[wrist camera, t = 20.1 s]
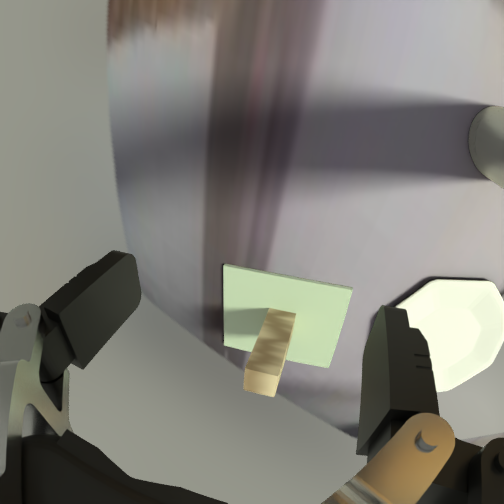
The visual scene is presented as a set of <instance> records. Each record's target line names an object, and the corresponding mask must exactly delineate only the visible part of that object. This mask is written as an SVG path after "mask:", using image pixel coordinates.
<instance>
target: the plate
mask: <svg viewBox="0 0 504 504" xmlns="http://www.w3.org/2000/svg"><path fill="white" fill-rule="evenodd" d="M395 307H396V308H402V309H406V311H407V314H408V320H409V325H410V327H411V328H418V329H419V330H420V331H421V333H422V334H423V336H424V337H425V339H426V340H427V342H428V347H429V352H430V358H431V362H432V370H433V373H434V379H435V386H436V392H444V391H448V390H451V389H452V388H454V387H456V386H458V385H459V384H461V383H463V382H465V381H466V380H468V379H470V378H471V377H473V376H474V375H476V374H478V373H479V372H481V371H483V370H484V369H486V368H487V367H489V366H490V365H491V364H492V363H493V361H494V359H495V357H496V355H497V353H498V351H499V349H500V347H501V345H502V343H503V341H504V301H503V299H502V297H501V295H500V293H499V291H498V290H497V288H496V286H495V284H494V283H493V282H491V281H489V280H458V279H435V280H432V281H429V282H428V283H426V284H425V285H424V286H422V287H421V288H420V289H418V290H417V291H416V292H414V293H413V294H411V295H410V296H409V297H407V298H406V299H404V300H403V301H402V302H400V303H399V304H397V305H396V306H395Z"/></svg>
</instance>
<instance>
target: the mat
mask: <svg viewBox="0 0 504 504" xmlns="http://www.w3.org/2000/svg"><path fill="white" fill-rule="evenodd" d="M223 281H224V345H225V346H229V347H233V348H237V349H241V350H245V351H249V352H252V350H253V348H254V345H255V343H256V340H257V338H258V335H259V333H260V330H261V328H262V325H263V323H264V320H265V318H266V315H267V312H268V310H269V308H273V309H277V310H282V311H287V312H291V313H296V318H295V323H294V328H293V333H292V337H291V341H290V345H289V348H288V352H287V355H286V359H285V360H289V361H294V362H299V363H304V364H309V365H315V366H320V367H326V368H329V365H330V362H331V359H332V356H333V353H334V350H335V347H336V344H337V341H338V338H339V335H340V332H341V328H342V325H343V322H344V318H345V315H346V311H347V308H348V305H349V301H350V297H351V294H352V290H353V288H352V287H346V286H341V285H335V284H330V283H325V282H319V281H314V280H308V279H303V278H298V277H292V276H287V275H282V274H276V273H271V272H266V271H261V270H256V269H250V268H245V267H240V266H235V265H230V264H224V266H223Z"/></svg>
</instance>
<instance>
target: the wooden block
mask: <svg viewBox="0 0 504 504" xmlns="http://www.w3.org/2000/svg"><path fill="white" fill-rule="evenodd" d="M295 318H296V313H291V312H287V311H282V310H277V309H273V308H269V310H268V312H267V315H266V318H265V320H264V323H263V325H262V328H261V330H260V333H259V335H258V338H257V340H256V343H255V345H254V348H253V350H252V353H251V355H250V358H249V360H248V362H247V365H246V367H245V377H244V390H247V391H251V392H254V393H259V394H263V395H267V396H271V397H274V395H275V393H276V389H277V386H278V383H279V379H280V376H281V373H282V369H283V366H284V362H285V359H286V355H287V352H288V348H289V345H290V341H291V337H292V333H293V328H294V323H295Z"/></svg>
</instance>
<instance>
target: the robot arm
mask: <svg viewBox="0 0 504 504" xmlns="http://www.w3.org/2000/svg"><path fill="white" fill-rule="evenodd" d="M468 142H469V150H470V154H471V158H472V160H473V162H474V164H475V166H476V167H477V169H478V170H479V171H480V172H481V173H482V174H483V175H484V176H485V177H487V178H488V179H490V180H491V181H493V182H494V183H496V184H497V185H499V186H500V187H501V188H503V189H504V107H499V106H491V107H487V108H485V109H483V110H482V111H480V112H479V113H478V114H477V115H476V117H475V118H474V120H473V122H472V124H471V127H470V131H469V140H468ZM140 300H141V288H140V282H139V276H138V270H137V264H136V259H135V257H134V256H133V255H132V254H128V253H124V252H120V251H115V250H113V251H111V252H109V253H108V254H107V255H105V256H104V257H103V258H102V259H100V260H99V261H98V262H96V263H95V264H92V265H90V266H88V267H86V268H85V269H84V270H82V271H81V272H80V273H78V274H77V276H76V277H74V278H72V279H71V280H70V281H69V283H66V284H65V285H64V286H63V287H61V288H60V289H59V290H58V291H57V292H55V293H54V294H53V295H52V296H51V297H49V298H48V299H47V300H46V301H45V302H44V303H43V304H41V305H40V306H39V307H38V306H37V305H35V304H30V303H29V304H22V305H20V306H17V307H15V308H14V309H12V310H11V311H10V312H9V313H4V312H0V504H228V503H226V502H223V501H219V500H216V499H213V498H210V497H207V496H204V495H201V494H198V493H195V492H192V491H189V490H186V489H184V488H181V487H176V486H169V485H164V484H158V483H153V482H148V481H143V480H139V479H135V478H132V477H130V476H129V475H127V474H126V473H125V472H124V471H122V470H121V469H120V468H119V467H118V466H117V465H116V464H115V463H113V462H112V461H111V460H110V459H109V458H108V457H107V456H106V455H105V454H104V453H103V452H102V451H101V450H100V449H99V448H97V447H95V446H94V445H92V444H90V443H89V442H87V441H85V440H84V439H82V438H80V437H79V436H77V435H76V434H74V433H73V430H72V428H71V425H70V422H69V407H68V406H69V370H68V368H67V367H68V366H69V365H70V364H71V363H72V364H74V365H75V366H77V367H79V368H81V369H84V368H85V367H86V366H87V364H88V363H89V362H90V361H91V360H92V359H93V357H94V356H95V355H96V354H97V353H98V352H99V350H100V349H101V348H102V347H103V346H104V345H105V343H106V342H107V341H108V340H109V339H110V338H111V337H112V335H113V334H114V333H115V332H116V331H117V330H118V329H119V328H120V326H121V325H122V324H123V323H124V322H125V321H126V320H127V319H128V317H129V316H130V315H131V314H132V313H133V312H134V311H135V310H136V308H137V307H138V305H139V303H140ZM356 454H357V455H366V456H368V458H367V464H366V465H365V466H364V467H363V468H362V469H361V470H360V471H359V472H358V473H357V474H356V475H355V476H354V477H353V478H352V479H351V480H349V481H348V482H347V483H345V484H344V485H343V486H342V487H341V488H339V489H338V490H337V491H336V492H335V493H333V494H332V495H331V496H330V497H329V498H327V499H326V500H325V501H324V502H322V503H321V504H504V438H496V439H493V440H491V441H490V442H489V443H488V444H487V445H486V446H484V447H480V446H477V445H474V444H470V443H467V442H464V441H461V440H459V439H457V438H455V436H454V432H453V430H452V428H451V426H450V425H449V423H448V422H447V421H446V420H445V419H443V418H442V417H440V415H439V408H438V400H437V393H436V386H435V379H434V373H433V370H432V362H431V358H430V352H429V347H428V342H427V340H426V339H425V337H424V336H423V334H422V333H421V331H420V330H419V329H418V328H411V327H410V325H409V320H408V314H407V311H406V309H402V308H396V307H390V306H384V305H382V306H381V307H380V309H379V311H378V314H377V317H376V319H375V322H374V325H373V328H372V330H371V333H370V335H369V338H368V340H367V343H366V346H365V350H364V355H363V363H362V388H361V405H360V418H359V430H358V440H357V450H356Z"/></svg>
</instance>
